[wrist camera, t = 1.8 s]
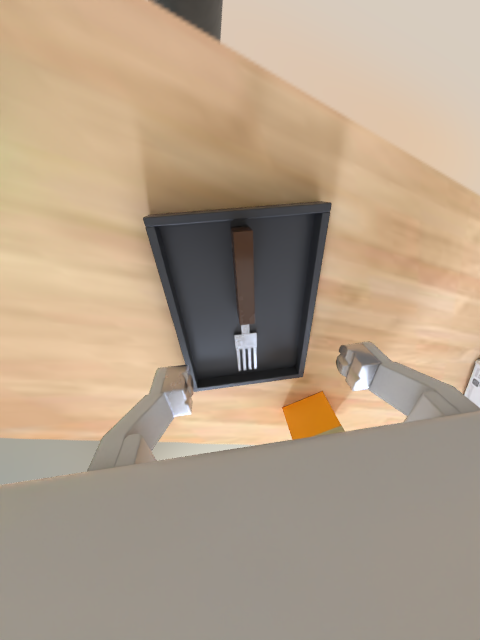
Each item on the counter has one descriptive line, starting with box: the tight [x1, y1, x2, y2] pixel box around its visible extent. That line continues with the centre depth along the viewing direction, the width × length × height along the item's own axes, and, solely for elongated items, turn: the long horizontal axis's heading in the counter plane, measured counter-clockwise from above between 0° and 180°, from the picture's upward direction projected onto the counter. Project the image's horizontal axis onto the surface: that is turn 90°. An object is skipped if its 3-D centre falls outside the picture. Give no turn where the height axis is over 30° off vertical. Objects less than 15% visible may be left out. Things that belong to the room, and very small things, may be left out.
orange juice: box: [282, 391, 345, 440], centre depth 29 cm, size 8×9×20 cm
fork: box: [230, 225, 257, 372], centre depth 22 cm, size 18×3×3 cm, turn 3°
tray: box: [143, 202, 331, 392], centre depth 23 cm, size 21×15×2 cm
